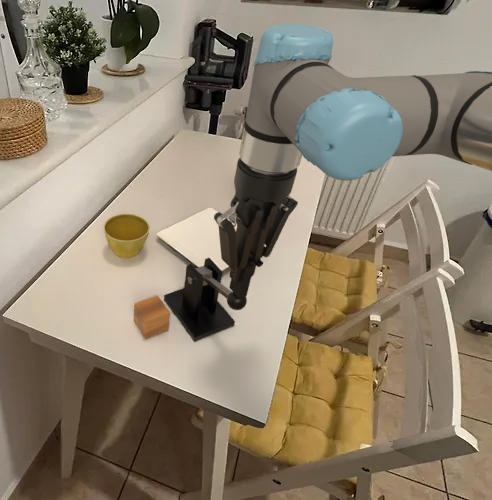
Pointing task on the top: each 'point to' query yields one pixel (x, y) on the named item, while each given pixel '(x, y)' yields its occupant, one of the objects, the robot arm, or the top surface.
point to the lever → (222, 289)
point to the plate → (196, 238)
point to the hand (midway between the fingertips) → (237, 291)
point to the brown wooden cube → (151, 316)
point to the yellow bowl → (126, 234)
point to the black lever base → (199, 304)
